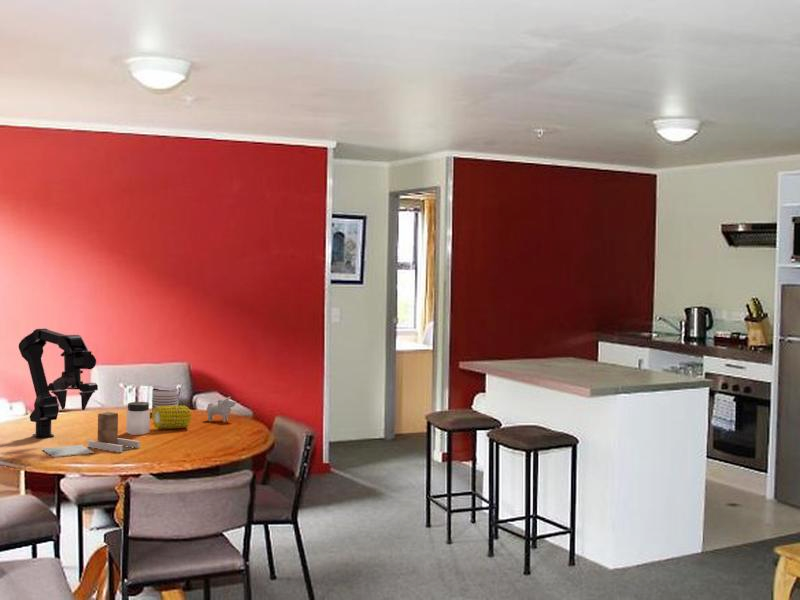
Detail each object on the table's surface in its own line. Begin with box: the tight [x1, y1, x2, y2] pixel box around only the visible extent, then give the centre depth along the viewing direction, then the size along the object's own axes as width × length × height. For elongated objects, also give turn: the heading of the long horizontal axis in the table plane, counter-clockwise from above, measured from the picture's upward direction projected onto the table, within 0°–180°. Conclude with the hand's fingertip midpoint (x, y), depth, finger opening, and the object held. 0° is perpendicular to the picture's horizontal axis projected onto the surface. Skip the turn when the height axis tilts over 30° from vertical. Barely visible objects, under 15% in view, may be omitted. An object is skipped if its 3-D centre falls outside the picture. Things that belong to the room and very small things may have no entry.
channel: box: [87, 437, 141, 453], centre depth 331 cm, size 16×10×2 cm, turn 64°
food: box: [151, 405, 192, 430], centre depth 371 cm, size 15×12×10 cm
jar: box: [126, 401, 151, 436], centre depth 360 cm, size 9×8×12 cm
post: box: [97, 411, 119, 445], centre depth 333 cm, size 5×5×12 cm
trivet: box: [42, 444, 95, 458], centre depth 322 cm, size 14×14×1 cm
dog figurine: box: [206, 396, 237, 423], centre depth 392 cm, size 5×13×11 cm, turn 86°
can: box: [151, 385, 179, 412], centre depth 407 cm, size 11×11×12 cm
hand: (73, 409), depth 338 cm, fingers open, 9 cm apart
